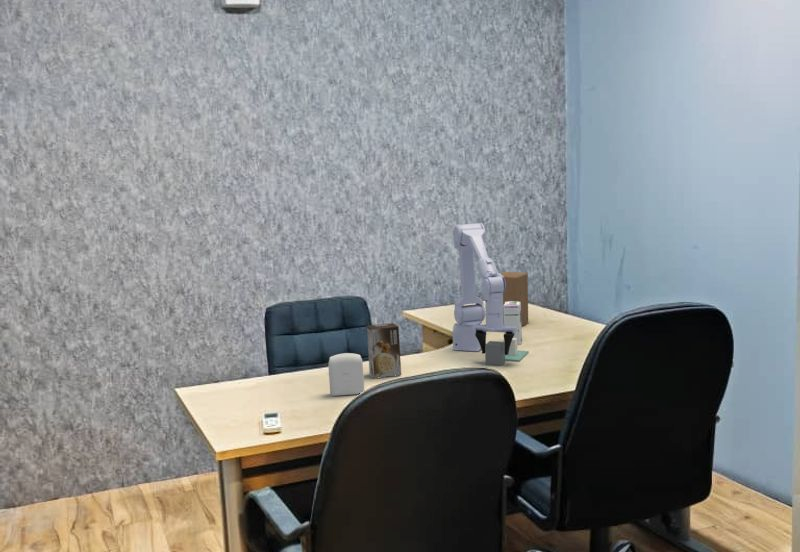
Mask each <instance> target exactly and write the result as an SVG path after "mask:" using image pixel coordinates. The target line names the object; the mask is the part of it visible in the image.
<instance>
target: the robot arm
mask: <svg viewBox="0 0 800 552" xmlns="http://www.w3.org/2000/svg"><path fill="white" fill-rule="evenodd" d="M452 231H453V232H452V236H453V238H452V239H453V246H454V248H455V249H457V250H458V257H459V270H460V272H459V273H460V286H461V296H460V297H459V298H458V299H457V300H456V301H455V302H454V310H453V316H454V320H455V322H456V323H453V324H454V325H453V327H452V350H453V351H465V352H479V351H480V350H481V353H482V354H483V355H485V344H487V343H486V342H487V332H489V333H503V340H504V341H503V342H505V355H508V354H509V348H510V344H511V341H512V339H513V337H514V334H516V333H517V327H516V326H508V325H504V323H503V293H504V292H505V290H506V282H505V279H504V277H503V276H502V275H501V274H500V273H501V272H500V273H499V271H498V269H497V267H496V264H495V261H494V260H493V258H490V257H489V255H488V252H487V247H486V245H485V239H486V227H485V225H484V223H482V222H479V223H468V224H467V223H466V224H456V225H455V226H454V227H453V230H452ZM474 256H475V258H476V260H477V264H476V268H477V270H478V273H479V276H480V278H481V288H482V292H483V299H484V300H483V299H481V298H480V297H479V296H477V291H476V275H475V263H474ZM484 302H485V305H484ZM484 320H485V323H484V324H483V322H484ZM504 333H506V334H504Z"/></svg>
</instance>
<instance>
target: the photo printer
mask: <svg viewBox="0 0 800 552" xmlns="http://www.w3.org/2000/svg"><path fill="white" fill-rule="evenodd" d="M363 363H364V362H363V358H362V356H361V355H360V354H357V353H352V352H351V353H350V352H344V353H339V354H338V353H337V354H335V355H331V356H330V357H329V360H328V365H327V366H328V380H329V394H330V396H332V397H337V396H349V395H360V394H359V393H361V392H363V391H364V392H365V382H364V381H365V380H364V365H363Z"/></svg>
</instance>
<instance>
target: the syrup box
mask: <svg viewBox="0 0 800 552" xmlns="http://www.w3.org/2000/svg"><path fill="white" fill-rule="evenodd" d="M503 307H504V325H508V326H516V327H517V333H516V334H514V337H513V338H517V345H521V343H522V341H523V337H522V336H523V331H522V329H523V328H522V327H523V326H521V302H518V301H509V302H505V303H504V305H503ZM504 334H506V333H504V332H503V335H504Z"/></svg>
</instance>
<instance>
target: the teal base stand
mask: <svg viewBox="0 0 800 552" xmlns="http://www.w3.org/2000/svg"><path fill="white" fill-rule="evenodd" d="M529 352H530V351H529V350H519V349H518V344H517V338H513V339H512V341H511V344H510V348H509V354H508V355H505V362H516V363H517V362H518V363H519V362H522V360H523V359H524V358H525V357H526V356H528V354H529Z"/></svg>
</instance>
